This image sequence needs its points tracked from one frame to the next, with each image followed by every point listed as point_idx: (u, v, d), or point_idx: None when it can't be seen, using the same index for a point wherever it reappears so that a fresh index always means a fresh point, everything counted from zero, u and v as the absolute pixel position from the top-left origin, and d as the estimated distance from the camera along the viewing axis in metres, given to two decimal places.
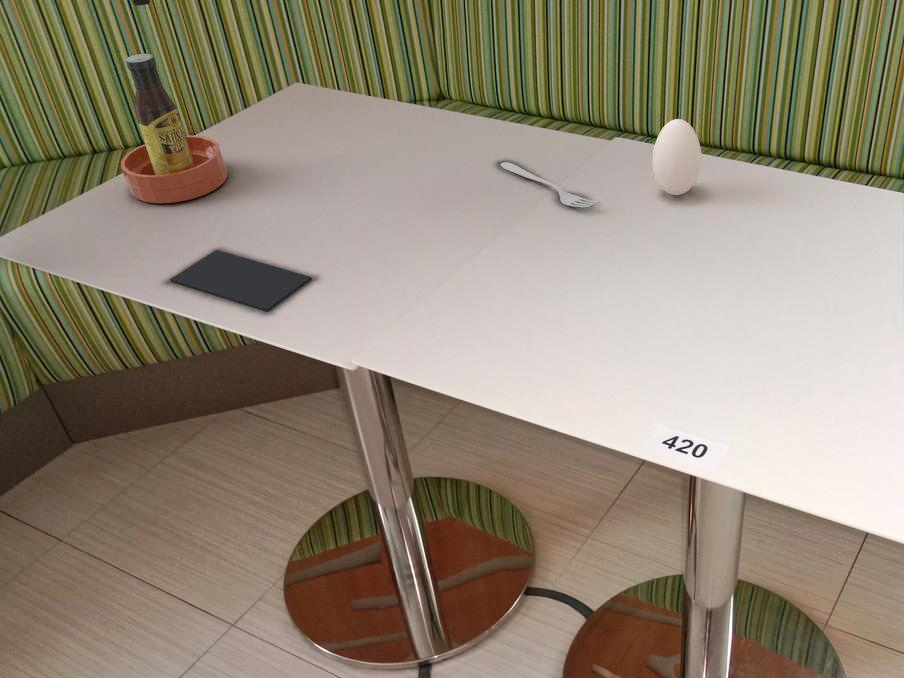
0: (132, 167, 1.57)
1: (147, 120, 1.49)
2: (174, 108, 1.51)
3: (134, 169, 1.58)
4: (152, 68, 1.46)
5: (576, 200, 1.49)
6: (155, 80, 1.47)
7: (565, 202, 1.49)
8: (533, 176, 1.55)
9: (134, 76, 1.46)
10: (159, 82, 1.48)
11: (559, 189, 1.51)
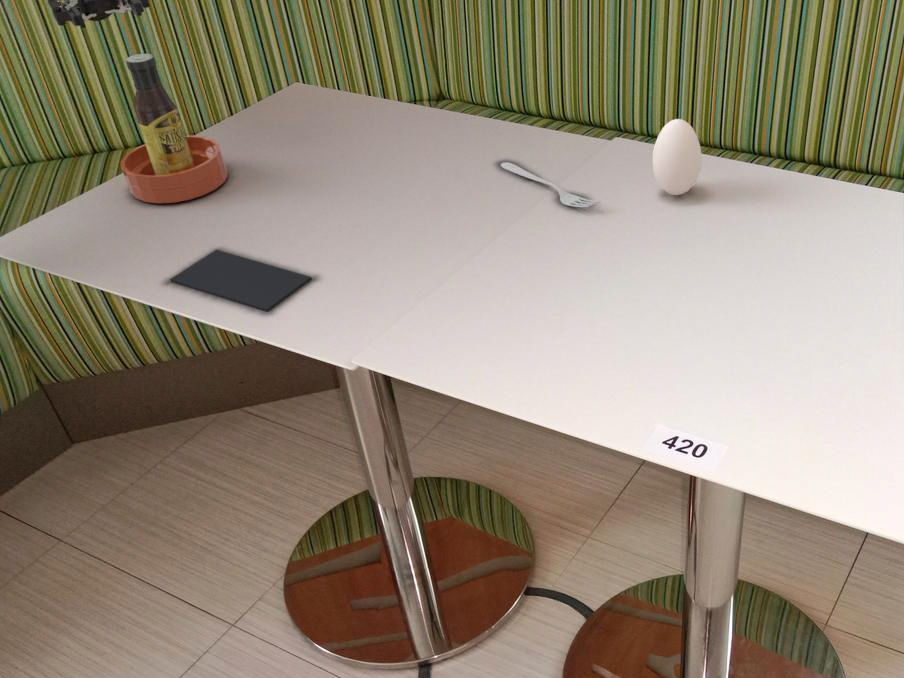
0: (132, 167, 1.57)
1: (147, 120, 1.49)
2: (174, 108, 1.51)
3: (134, 169, 1.58)
4: (152, 68, 1.46)
5: (576, 200, 1.49)
6: (155, 80, 1.47)
7: (565, 202, 1.49)
8: (533, 176, 1.55)
9: (134, 76, 1.46)
10: (159, 82, 1.48)
11: (559, 189, 1.51)
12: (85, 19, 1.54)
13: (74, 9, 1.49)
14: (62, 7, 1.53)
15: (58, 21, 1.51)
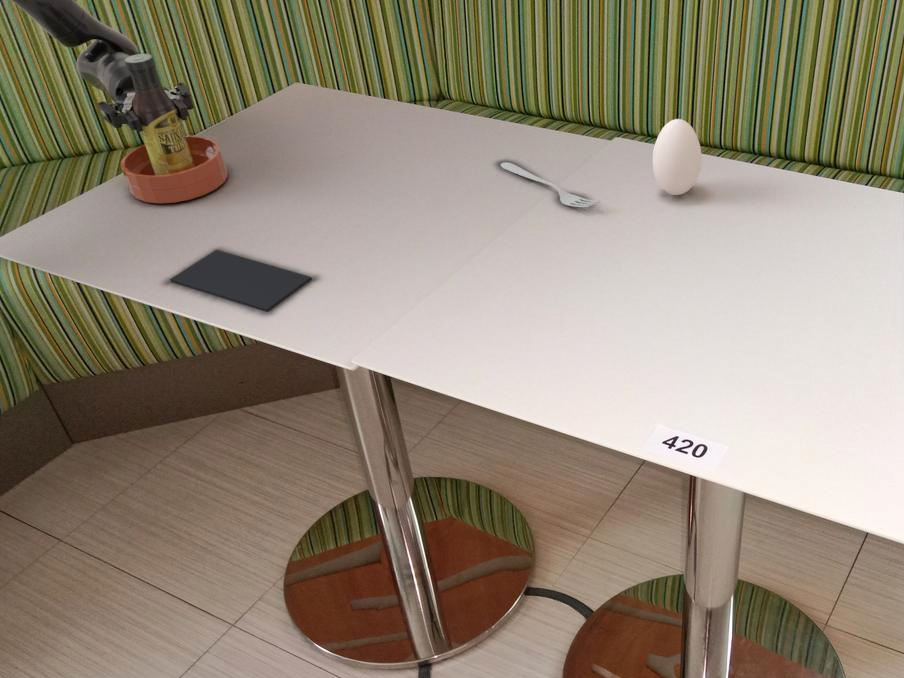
0: (132, 167, 1.57)
1: (146, 121, 1.49)
2: (173, 108, 1.51)
3: (134, 169, 1.58)
4: (151, 68, 1.46)
5: (576, 200, 1.49)
6: (154, 80, 1.47)
7: (565, 202, 1.49)
8: (533, 176, 1.55)
9: (133, 76, 1.46)
10: (158, 82, 1.48)
11: (559, 189, 1.51)
12: None
13: (131, 113, 1.49)
14: None
15: (115, 124, 1.51)
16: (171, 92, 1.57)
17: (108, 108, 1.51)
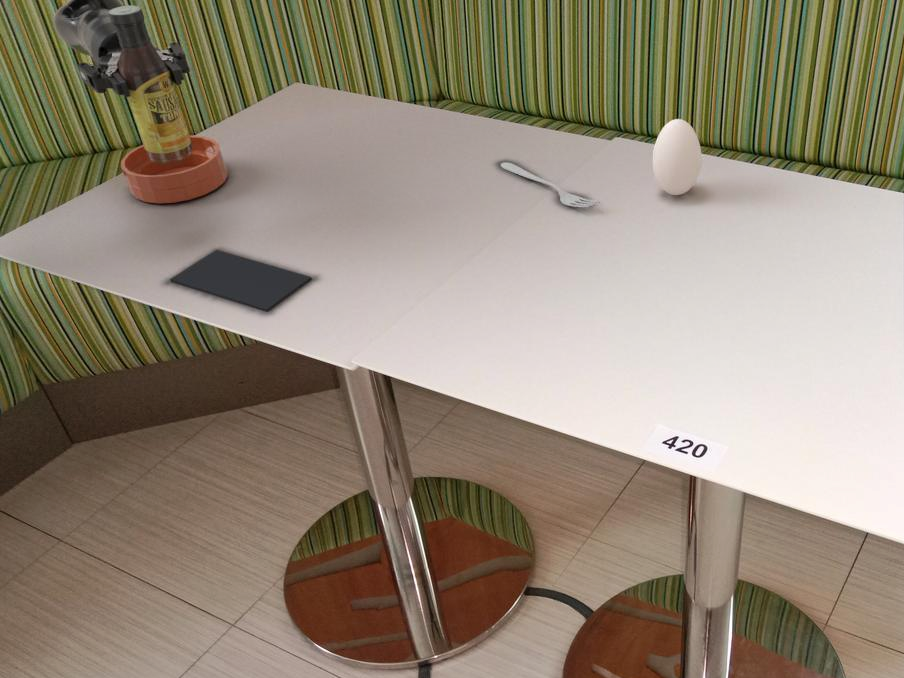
0: (132, 167, 1.57)
1: (134, 84, 1.28)
2: (166, 70, 1.30)
3: (134, 169, 1.58)
4: (140, 22, 1.25)
5: (576, 200, 1.49)
6: (143, 36, 1.26)
7: (565, 202, 1.49)
8: (533, 176, 1.55)
9: (119, 31, 1.25)
10: (148, 39, 1.27)
11: (559, 189, 1.51)
12: None
13: (117, 75, 1.28)
14: None
15: (98, 88, 1.30)
16: (163, 53, 1.36)
17: (90, 70, 1.30)
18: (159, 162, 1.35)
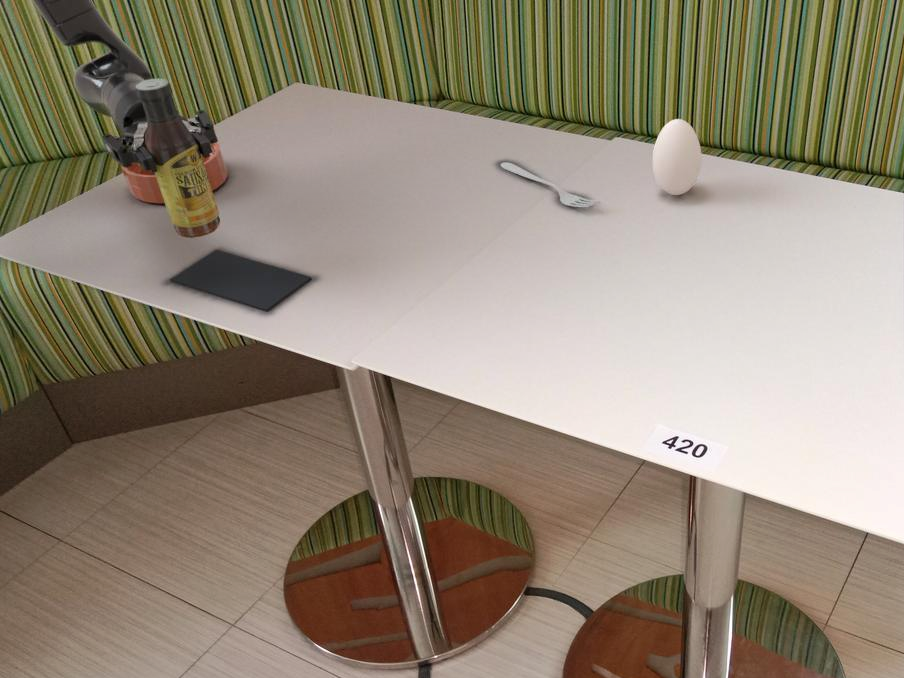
0: (132, 167, 1.57)
1: (161, 159, 1.23)
2: (194, 143, 1.25)
3: (134, 169, 1.58)
4: (167, 96, 1.20)
5: (576, 200, 1.49)
6: (171, 111, 1.21)
7: (565, 202, 1.49)
8: (533, 176, 1.55)
9: (146, 106, 1.20)
10: (176, 113, 1.22)
11: (559, 189, 1.51)
12: None
13: (143, 150, 1.23)
14: (122, 144, 1.27)
15: (124, 163, 1.25)
16: (190, 122, 1.31)
17: (115, 143, 1.25)
18: (186, 236, 1.30)
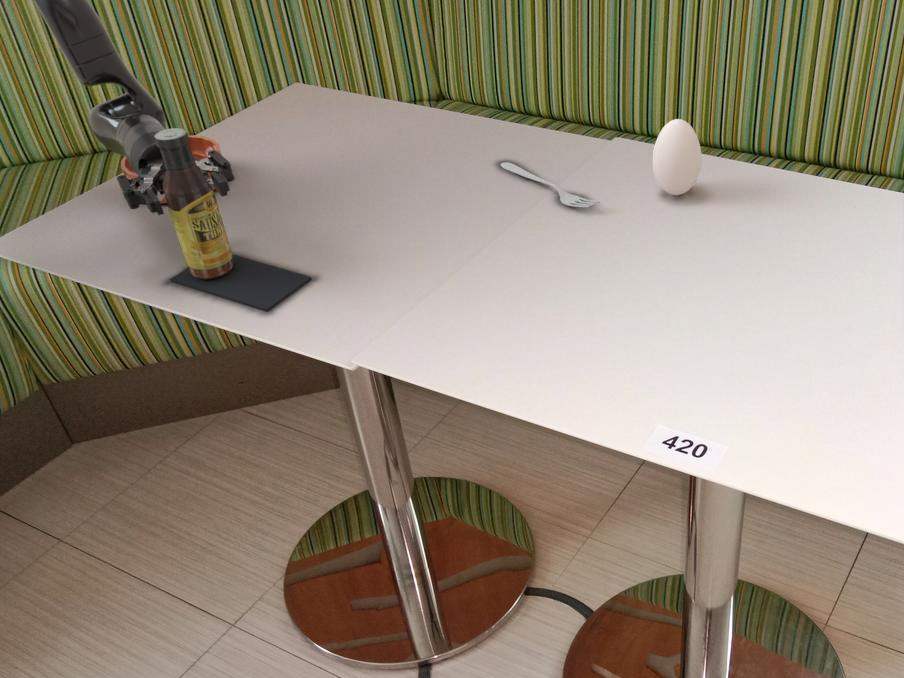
0: None
1: (178, 205, 1.28)
2: (210, 190, 1.29)
3: None
4: (185, 146, 1.25)
5: (576, 200, 1.49)
6: (188, 159, 1.26)
7: (565, 202, 1.49)
8: (533, 176, 1.55)
9: (164, 155, 1.25)
10: (193, 161, 1.27)
11: (559, 189, 1.51)
12: (160, 198, 1.31)
13: (150, 193, 1.27)
14: (134, 185, 1.31)
15: (130, 205, 1.29)
16: None
17: (125, 185, 1.29)
18: (201, 277, 1.35)
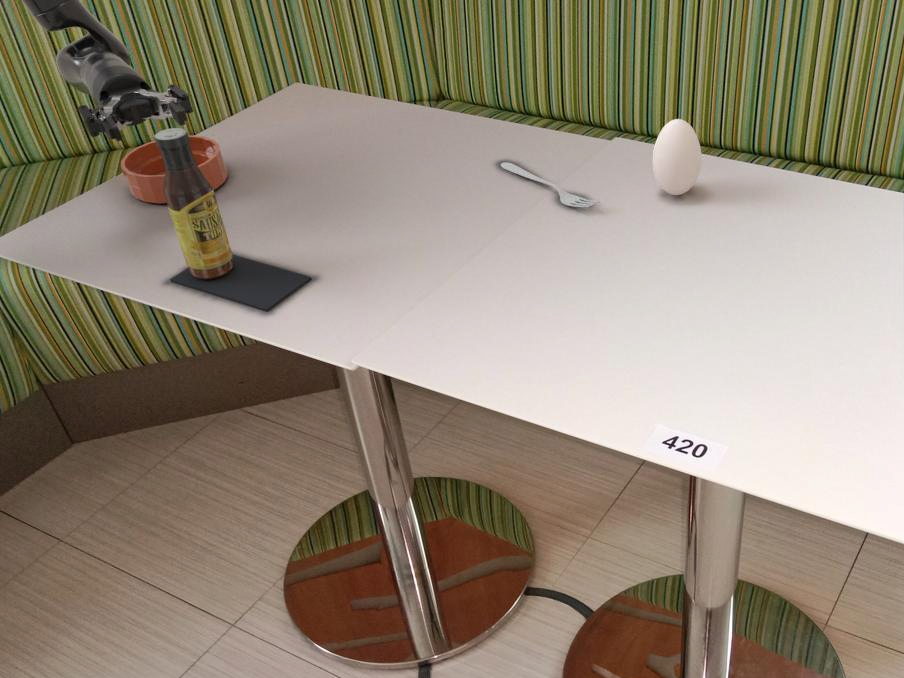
0: (132, 167, 1.57)
1: (178, 205, 1.28)
2: (210, 190, 1.29)
3: (134, 169, 1.58)
4: (185, 146, 1.25)
5: (576, 200, 1.49)
6: (188, 159, 1.26)
7: (565, 202, 1.49)
8: (533, 176, 1.55)
9: (164, 155, 1.25)
10: (193, 161, 1.27)
11: (559, 189, 1.51)
12: (120, 128, 1.36)
13: (109, 120, 1.32)
14: (95, 115, 1.35)
15: (91, 132, 1.33)
16: None
17: (86, 114, 1.33)
18: (201, 277, 1.34)
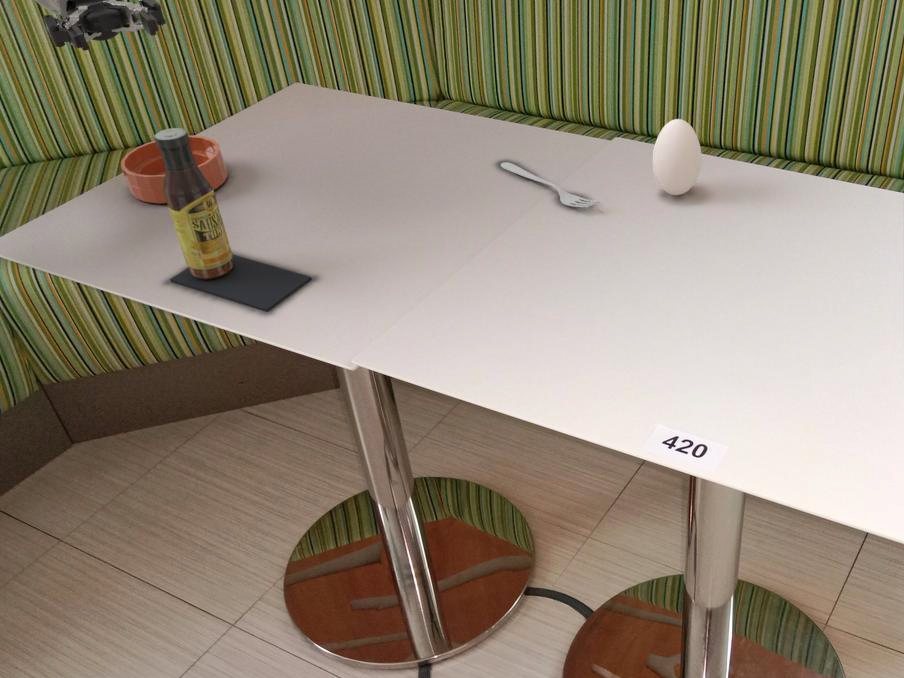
0: (132, 167, 1.57)
1: (178, 205, 1.28)
2: (210, 190, 1.29)
3: (134, 169, 1.58)
4: (185, 146, 1.25)
5: (576, 200, 1.49)
6: (188, 159, 1.26)
7: (565, 202, 1.49)
8: (533, 176, 1.55)
9: (164, 155, 1.25)
10: (193, 161, 1.27)
11: (559, 189, 1.51)
12: (88, 39, 1.28)
13: (75, 28, 1.24)
14: (60, 25, 1.27)
15: (56, 42, 1.25)
16: None
17: (50, 22, 1.25)
18: (201, 277, 1.34)
